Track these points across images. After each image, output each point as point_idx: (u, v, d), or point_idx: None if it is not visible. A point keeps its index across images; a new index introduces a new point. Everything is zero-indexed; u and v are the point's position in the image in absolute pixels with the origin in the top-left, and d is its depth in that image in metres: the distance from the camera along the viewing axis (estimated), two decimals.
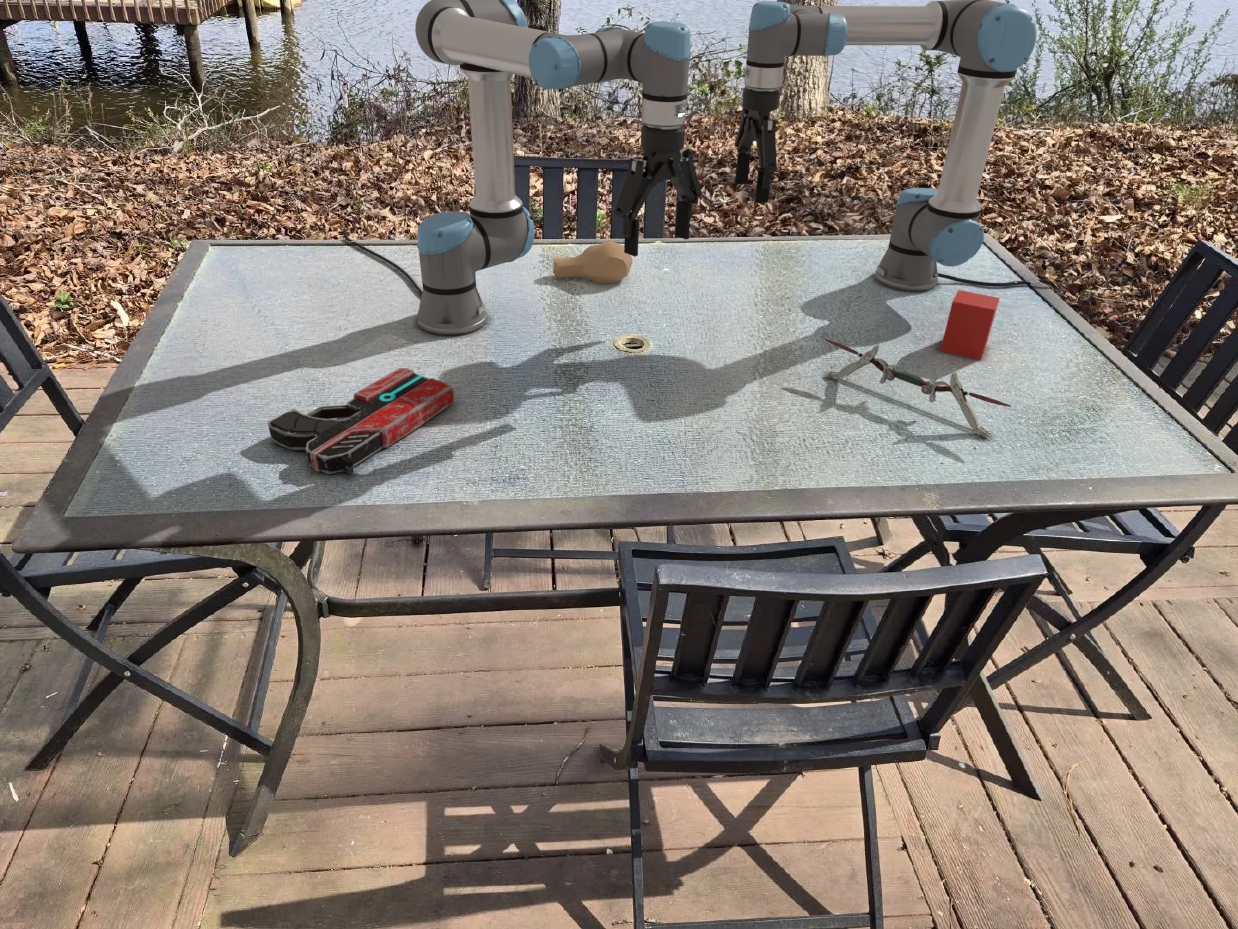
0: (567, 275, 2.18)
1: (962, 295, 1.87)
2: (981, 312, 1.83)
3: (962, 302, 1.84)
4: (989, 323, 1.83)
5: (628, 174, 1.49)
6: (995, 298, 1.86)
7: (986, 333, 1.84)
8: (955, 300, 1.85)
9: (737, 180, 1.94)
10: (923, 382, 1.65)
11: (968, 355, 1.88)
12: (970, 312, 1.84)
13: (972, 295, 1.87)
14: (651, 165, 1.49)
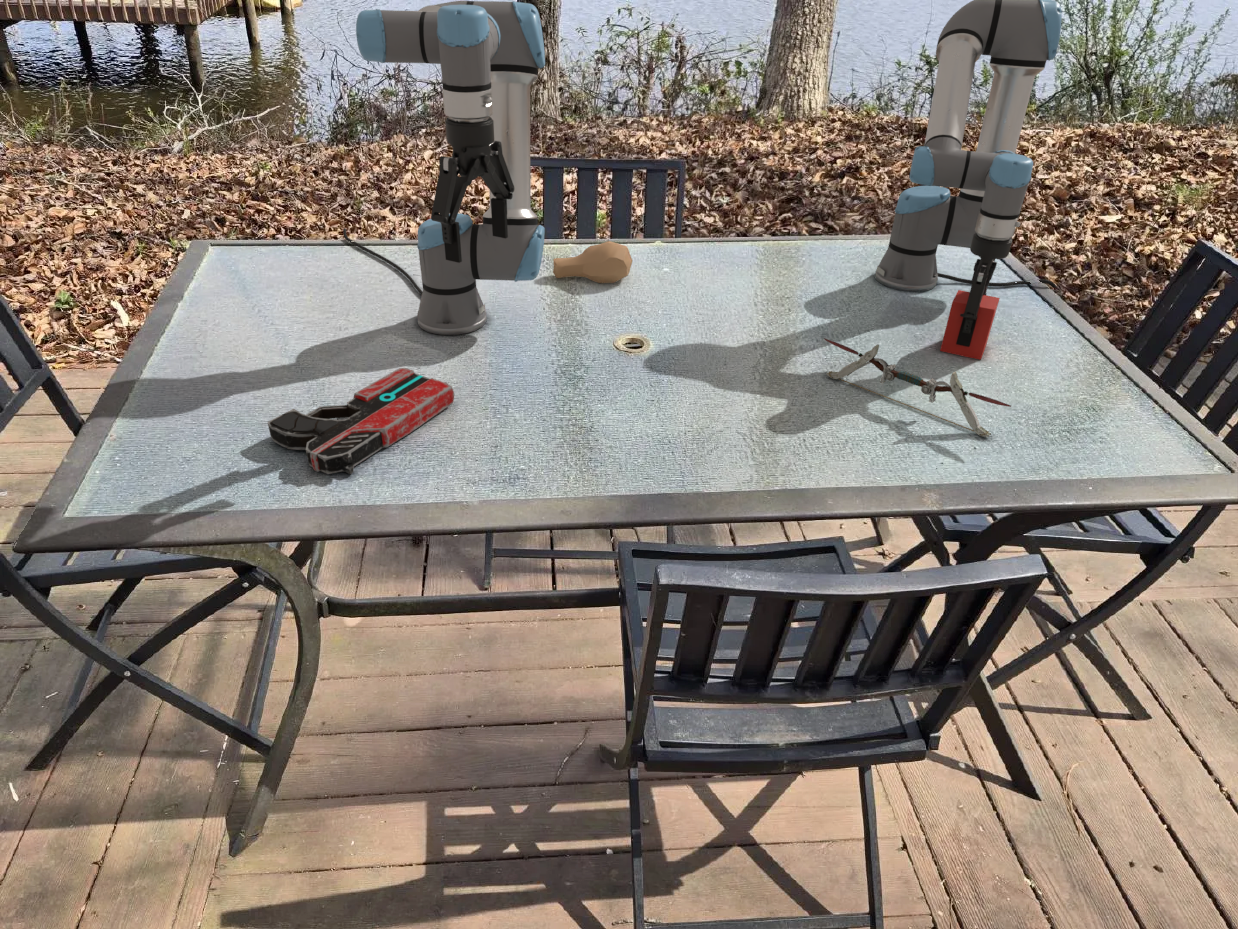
0: (567, 275, 2.18)
1: (962, 295, 1.87)
2: (981, 312, 1.83)
3: (962, 302, 1.84)
4: (989, 323, 1.83)
5: (440, 174, 1.36)
6: (995, 298, 1.86)
7: (986, 333, 1.84)
8: (955, 300, 1.85)
9: None
10: (923, 382, 1.65)
11: (968, 355, 1.88)
12: None
13: None
14: (463, 162, 1.37)
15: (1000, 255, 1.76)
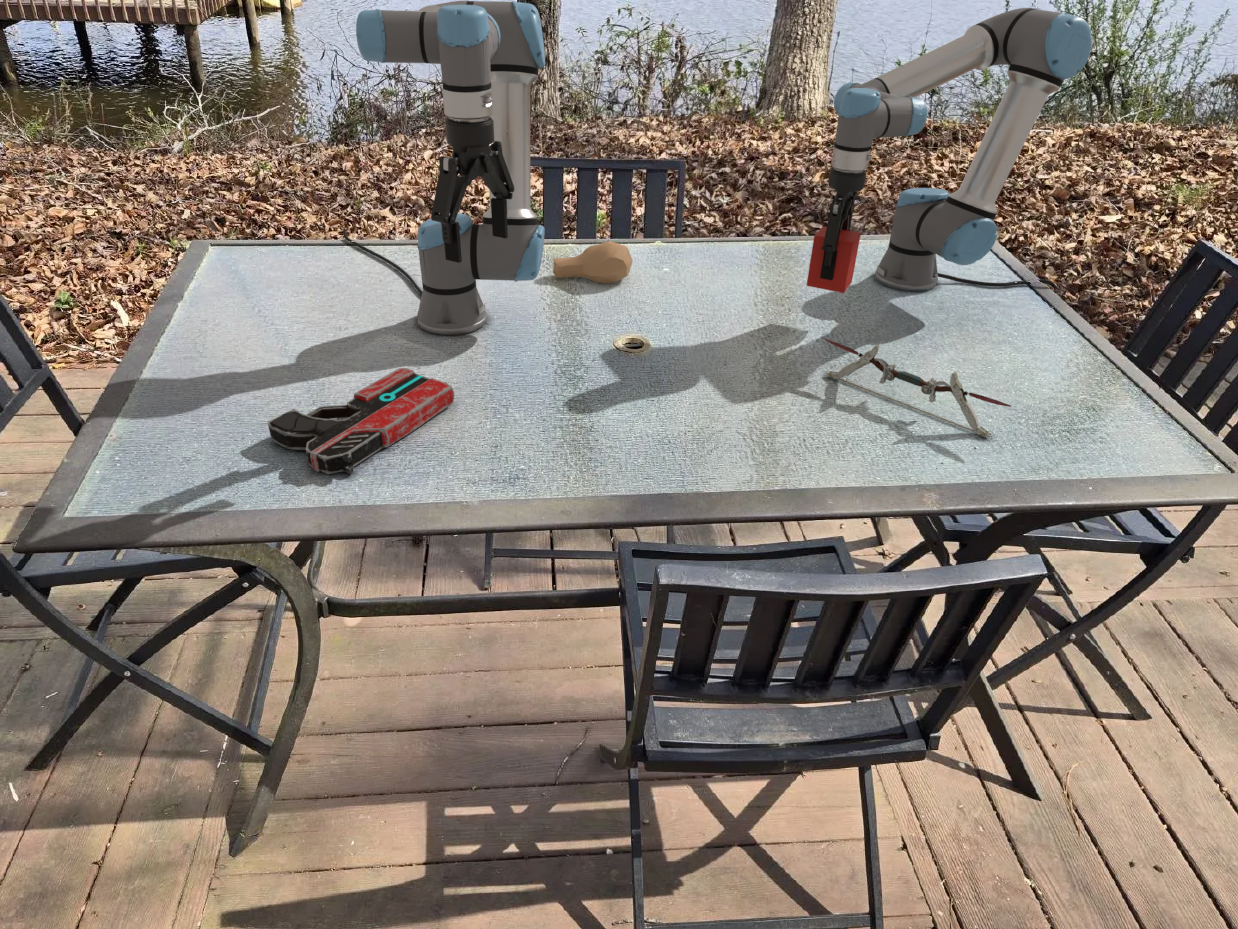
0: (567, 275, 2.18)
1: (825, 230, 1.93)
2: (841, 245, 1.89)
3: (823, 236, 1.90)
4: (849, 256, 1.89)
5: (440, 174, 1.36)
6: (856, 233, 1.92)
7: (847, 266, 1.90)
8: (817, 234, 1.91)
9: None
10: (923, 382, 1.65)
11: (832, 289, 1.94)
12: None
13: None
14: (463, 162, 1.37)
15: (855, 187, 1.82)
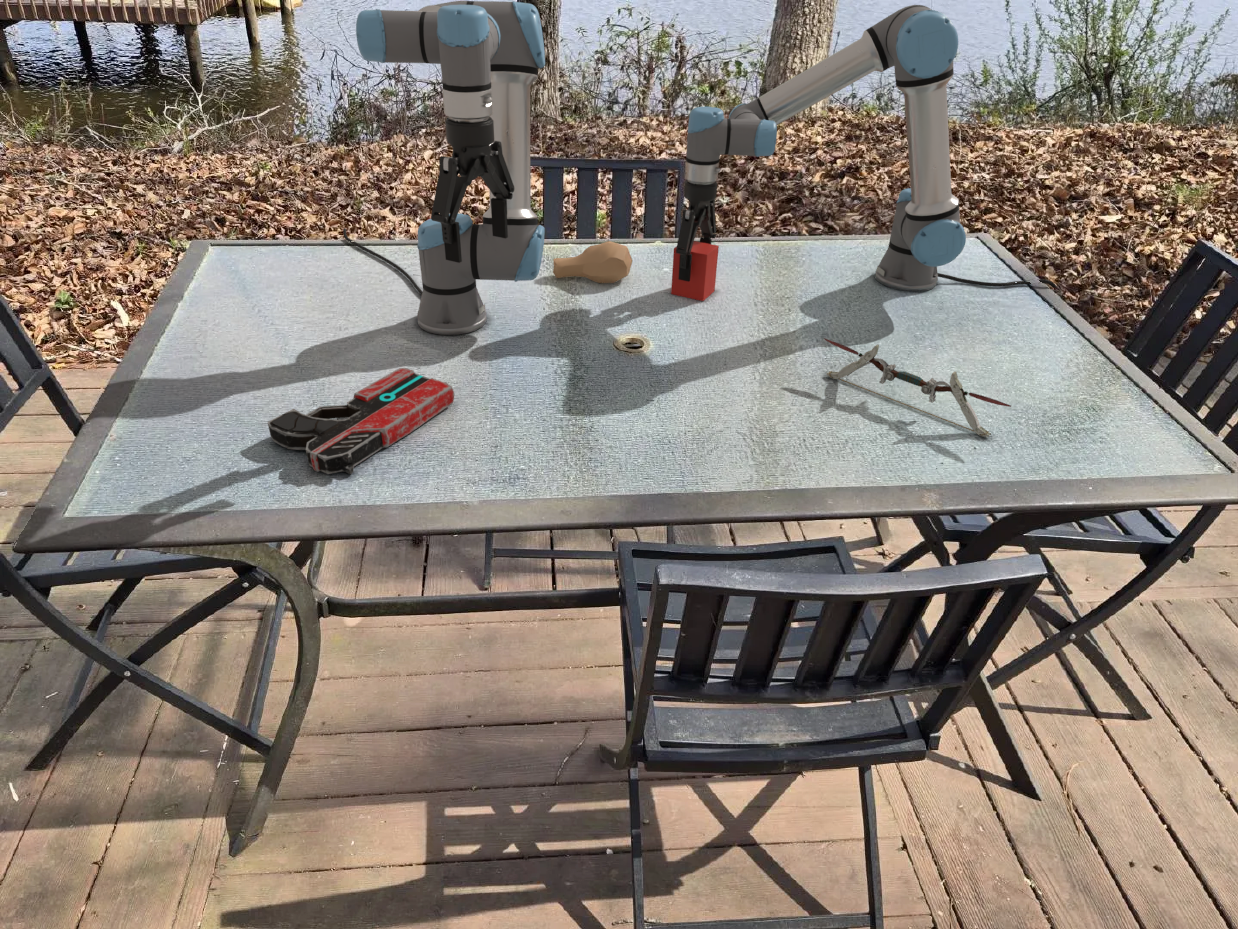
0: (567, 275, 2.18)
1: None
2: (697, 257, 2.05)
3: None
4: (704, 267, 2.06)
5: (440, 174, 1.36)
6: (714, 246, 2.09)
7: (703, 276, 2.07)
8: None
9: None
10: (923, 382, 1.65)
11: (693, 297, 2.11)
12: None
13: (695, 243, 2.10)
14: (463, 162, 1.37)
15: (705, 198, 1.98)
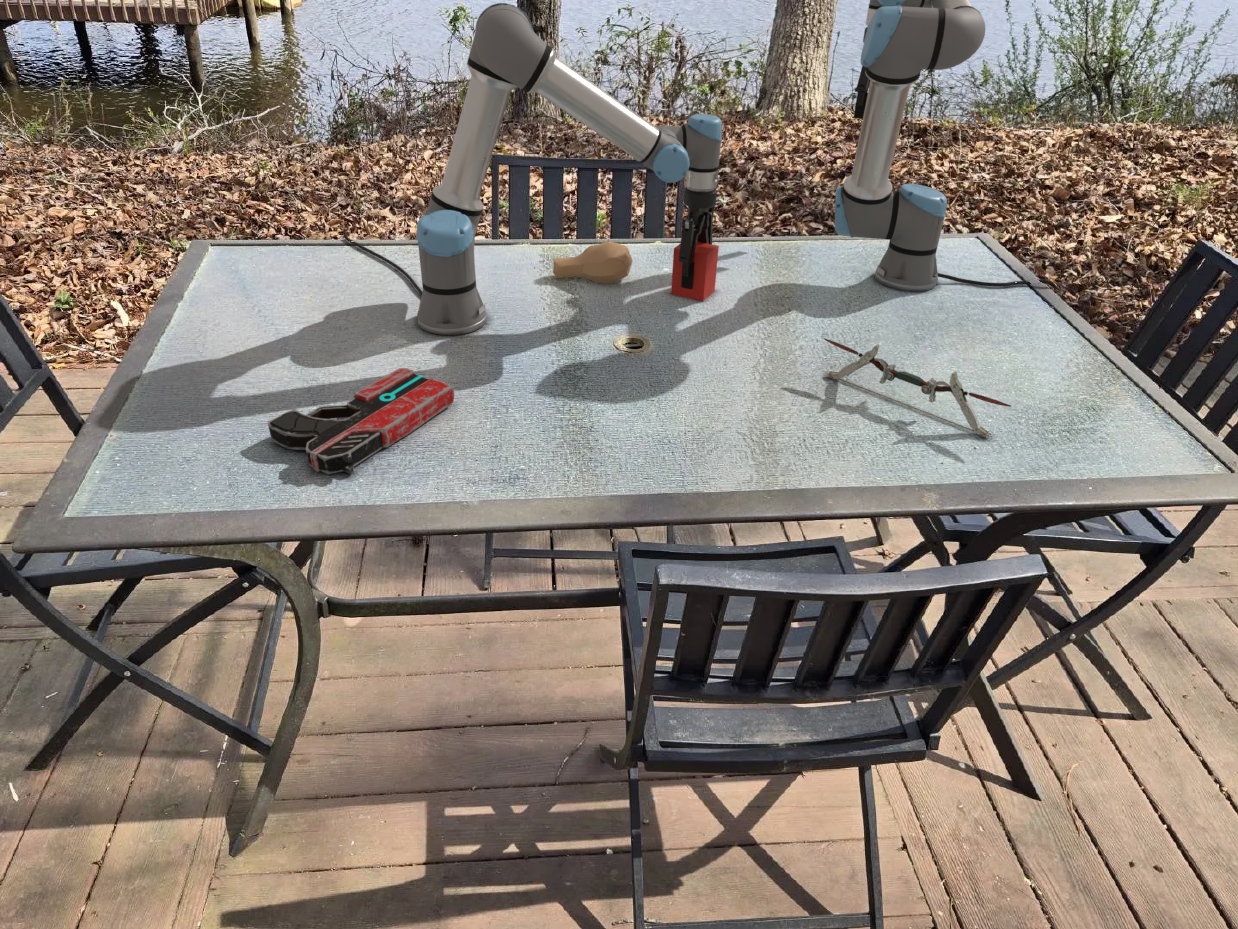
0: (567, 275, 2.18)
1: None
2: (697, 257, 2.05)
3: None
4: (704, 267, 2.06)
5: (683, 231, 2.01)
6: (714, 246, 2.09)
7: (703, 276, 2.07)
8: (676, 247, 2.07)
9: None
10: (923, 382, 1.65)
11: (693, 297, 2.11)
12: None
13: None
14: (696, 218, 2.00)
15: None
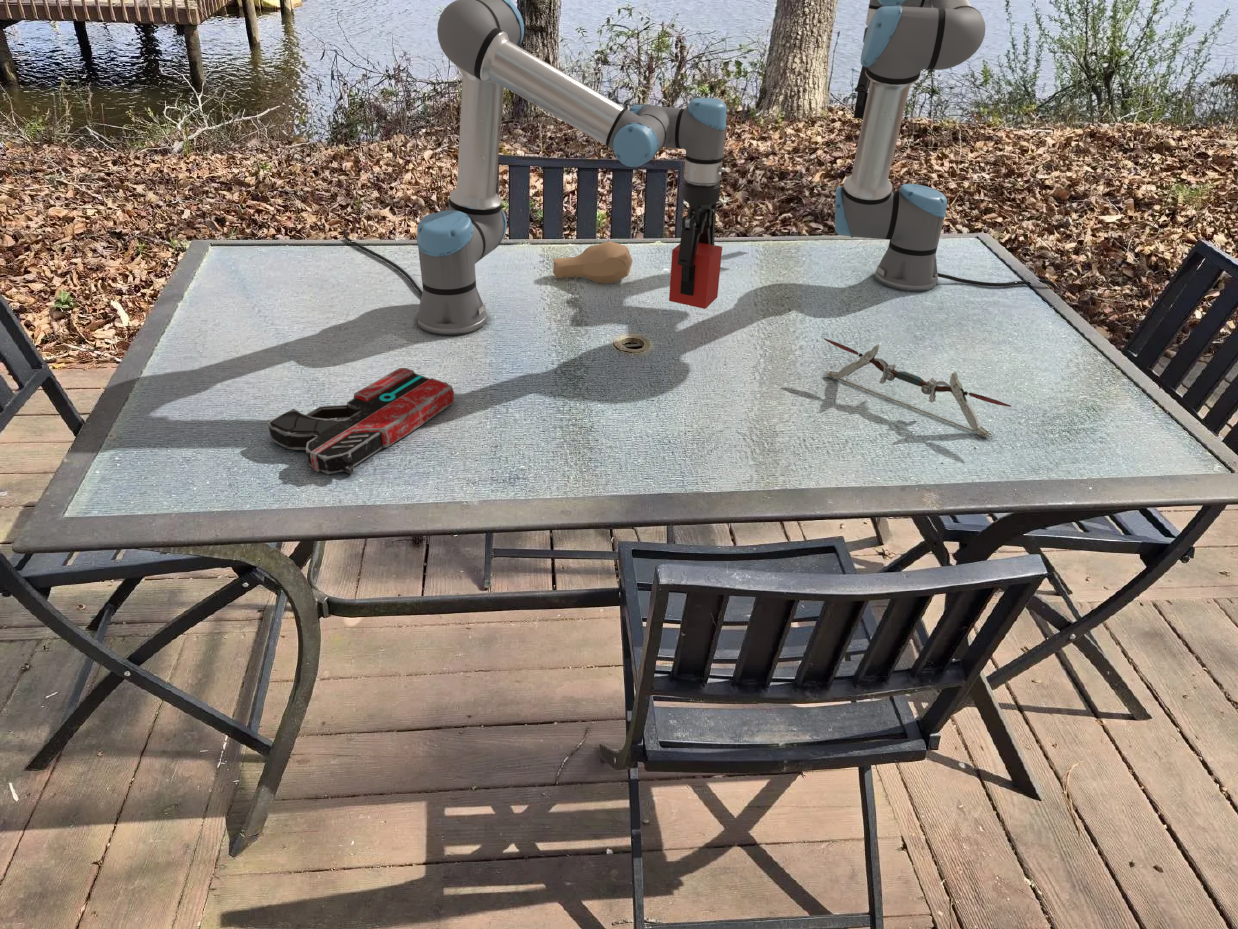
0: (567, 275, 2.18)
1: None
2: (699, 260, 1.82)
3: None
4: (707, 271, 1.83)
5: (683, 230, 1.78)
6: (717, 247, 1.86)
7: (706, 281, 1.84)
8: (675, 248, 1.84)
9: None
10: (923, 382, 1.65)
11: (694, 304, 1.88)
12: None
13: None
14: (698, 216, 1.78)
15: None
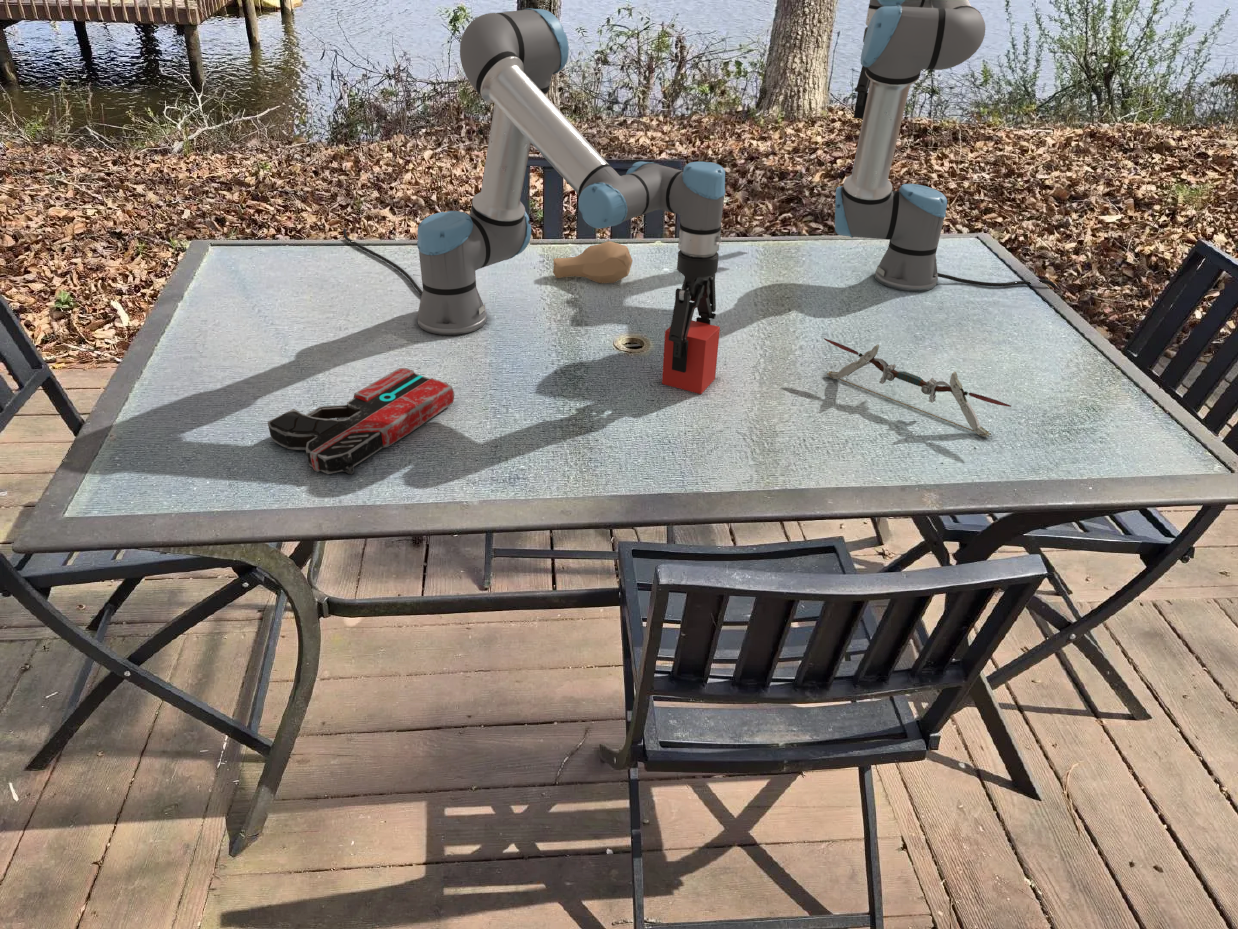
0: (567, 275, 2.18)
1: None
2: (694, 343, 1.67)
3: None
4: (703, 355, 1.67)
5: (676, 303, 1.61)
6: (715, 327, 1.71)
7: (701, 366, 1.69)
8: (668, 329, 1.69)
9: None
10: (923, 382, 1.65)
11: (689, 389, 1.73)
12: None
13: (691, 324, 1.72)
14: (693, 289, 1.61)
15: None
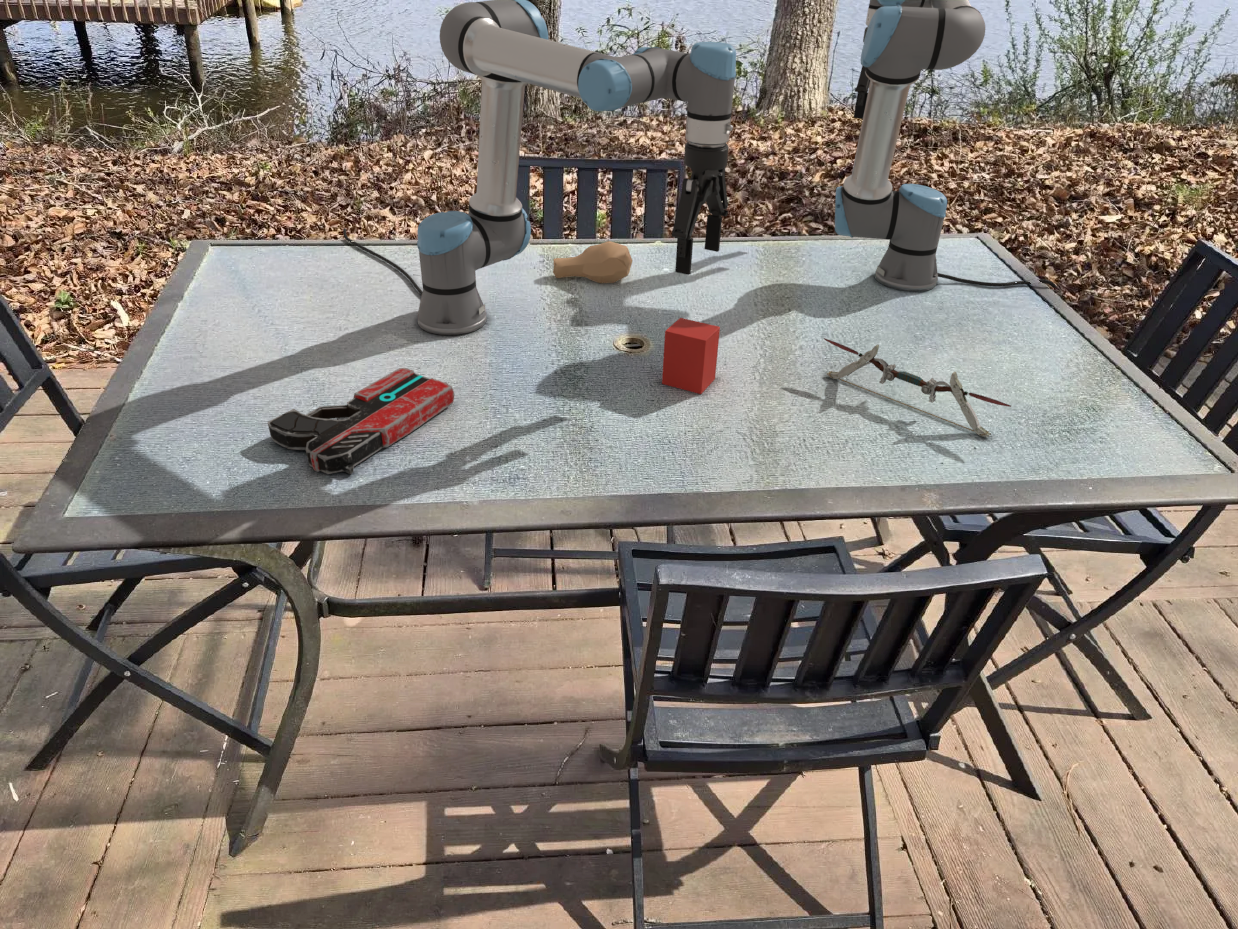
0: (567, 275, 2.18)
1: (680, 324, 1.72)
2: (694, 343, 1.67)
3: (675, 331, 1.69)
4: (703, 355, 1.67)
5: (682, 195, 1.50)
6: (715, 327, 1.71)
7: (701, 366, 1.69)
8: (668, 329, 1.69)
9: None
10: (923, 382, 1.65)
11: (689, 389, 1.73)
12: (683, 342, 1.68)
13: (691, 324, 1.72)
14: (701, 183, 1.51)
15: None
